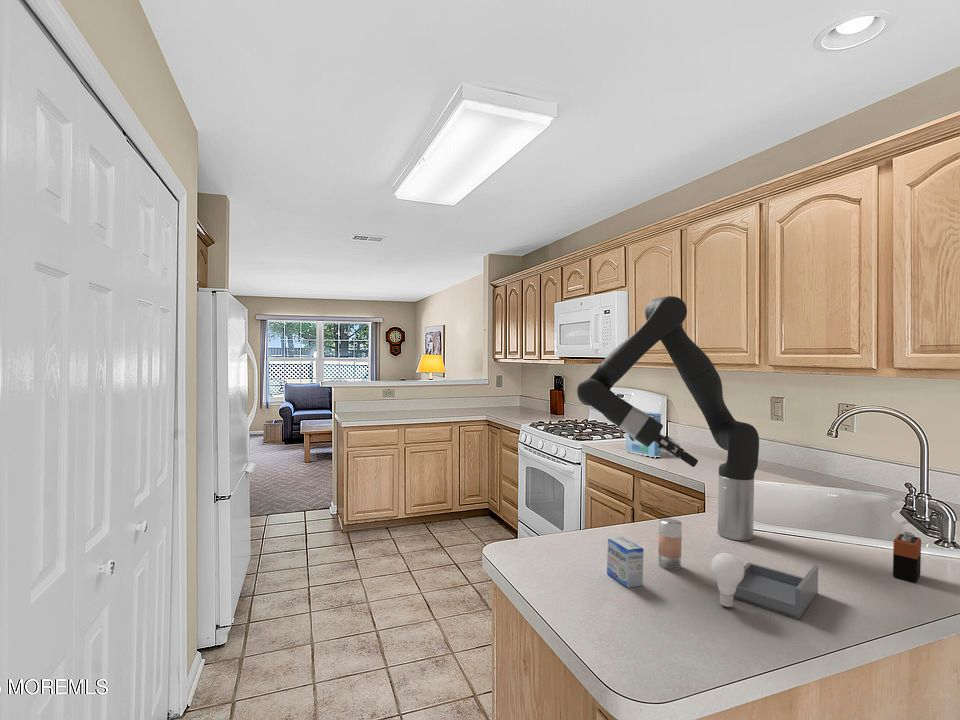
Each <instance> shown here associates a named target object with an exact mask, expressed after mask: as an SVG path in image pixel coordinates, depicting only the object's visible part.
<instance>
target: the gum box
mask: <svg viewBox="0 0 960 720" xmlns="http://www.w3.org/2000/svg"><path fill="white" fill-rule="evenodd" d="M643 412H644V413H646V414H647V415H649V416H650V417H652V418H653V419H655V420H657V421H658V422H660V423H661V424H662V421H661V420H662V418H661V417H662V414H661V413H658V412H657V413H656V412H650V411H643ZM661 433H662V430H661V431H660V435H662V434H661ZM625 438H626V449H625V451H626V450H629V451H633V452H637V453H642V454H647V455H651V456H660V455H661V454H662V451H661V450H662V449H660V448H659V447H658V443H657V442H655V441H654V442H652V444H651V445H650V446H649V447H646V446H644V445H643V444H641V443H640V442H638V441H637V440H636V439H634V438H633V437H631V436H630V435H628V434H627V433H626V437H625ZM661 456H662V455H661Z"/></svg>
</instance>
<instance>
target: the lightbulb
mask: <svg viewBox="0 0 960 720" xmlns="http://www.w3.org/2000/svg"><path fill="white" fill-rule="evenodd" d="M709 565H710V566H709V567H710V572H711V574H712V576H713V578H714V580H715V581H716V584H717V589H718V591H719V604H720V605H722V606H723V607H724V608H732V607H734V606H735V602H734V601H735V598H734V593H735V592H736V588H737V586H738V585H739V583H740V582H741V581H742V580H743V578H744V573H745V571H744V566H745V565H744V564H743V562H742V561H741V560H740V559H739V558H738V557H737V556H736V555H734V554H733V553H729V552H720V553H717V554H715V555H714V556H713V558H712V559H711V561H710V564H709Z"/></svg>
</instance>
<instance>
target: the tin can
mask: <svg viewBox="0 0 960 720" xmlns="http://www.w3.org/2000/svg"><path fill="white" fill-rule="evenodd" d="M682 529H683V528H682V521H680V520H677V519H675V518H674V519H673V518H670V517H669V518H668V517H667V518H666V517H665V518H664V517H663V518H660V519H659V520H658V546H657V548H658V549H657V550H658V551H657V553H658V559H657V560H658V566H659V568H661V567H662V568H661V569H663V568H664V570H666V569H668V570H667V571H671V570H676V571H679V569H680V568H681V569H682ZM681 569H680V570H681Z"/></svg>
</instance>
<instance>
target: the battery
mask: <svg viewBox="0 0 960 720" xmlns="http://www.w3.org/2000/svg"><path fill="white" fill-rule="evenodd" d="M892 547H893V551H892V552H893V554H892V558H893V559H892V576H893V578H895V579H898V580H902V581H906V582H911V583H914V584H916V583H917V582H918V580H919V579H920V576H921V563H922V561H921V558H922V539H921V538H920V537H917V536H915V534H914V533H913V532H909V531H903V532H902V533H898V534H897V535H896V536H895V538H894V539H893V546H892Z"/></svg>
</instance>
